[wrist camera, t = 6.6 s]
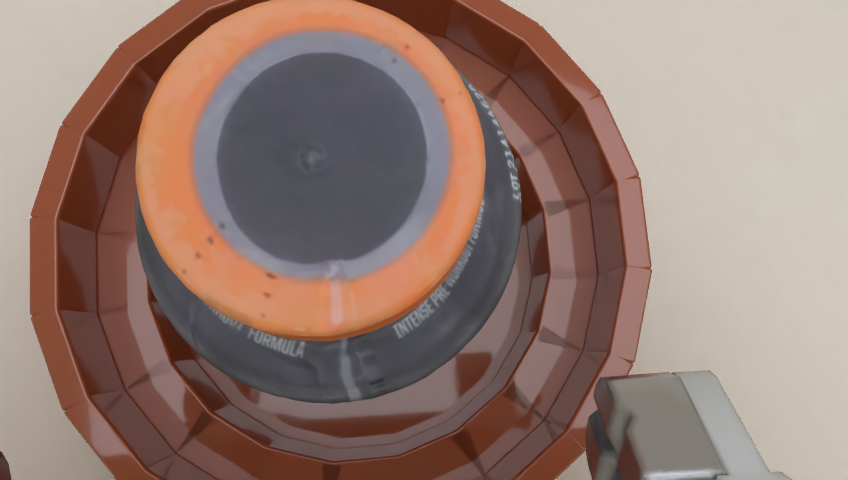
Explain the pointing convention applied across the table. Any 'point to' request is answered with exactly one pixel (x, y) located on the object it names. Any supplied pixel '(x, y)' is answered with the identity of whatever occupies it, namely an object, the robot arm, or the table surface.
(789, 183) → the table surface
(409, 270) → the pill bottle
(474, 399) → the bowl
